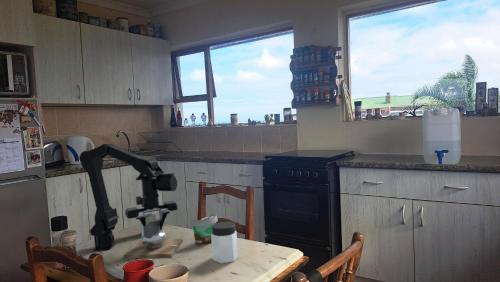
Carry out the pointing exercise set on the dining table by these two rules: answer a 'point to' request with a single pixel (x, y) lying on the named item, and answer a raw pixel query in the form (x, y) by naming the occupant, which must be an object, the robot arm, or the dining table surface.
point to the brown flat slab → (154, 249)
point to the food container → (204, 229)
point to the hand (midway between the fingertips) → (153, 231)
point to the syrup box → (149, 217)
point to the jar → (224, 242)
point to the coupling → (153, 233)
